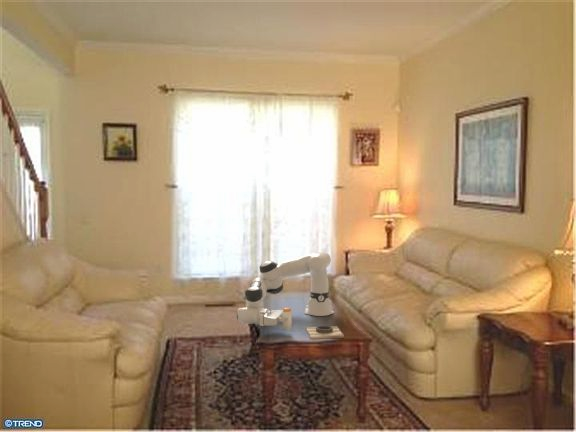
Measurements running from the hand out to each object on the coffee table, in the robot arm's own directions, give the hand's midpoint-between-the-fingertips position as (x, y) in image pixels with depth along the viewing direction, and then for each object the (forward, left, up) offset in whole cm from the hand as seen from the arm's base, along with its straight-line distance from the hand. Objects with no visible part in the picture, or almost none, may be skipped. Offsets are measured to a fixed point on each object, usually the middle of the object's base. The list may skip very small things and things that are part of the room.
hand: (288, 317), depth 289 cm
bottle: (0, -1, -6) cm, 6 cm away
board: (-1, +20, -9) cm, 22 cm away
